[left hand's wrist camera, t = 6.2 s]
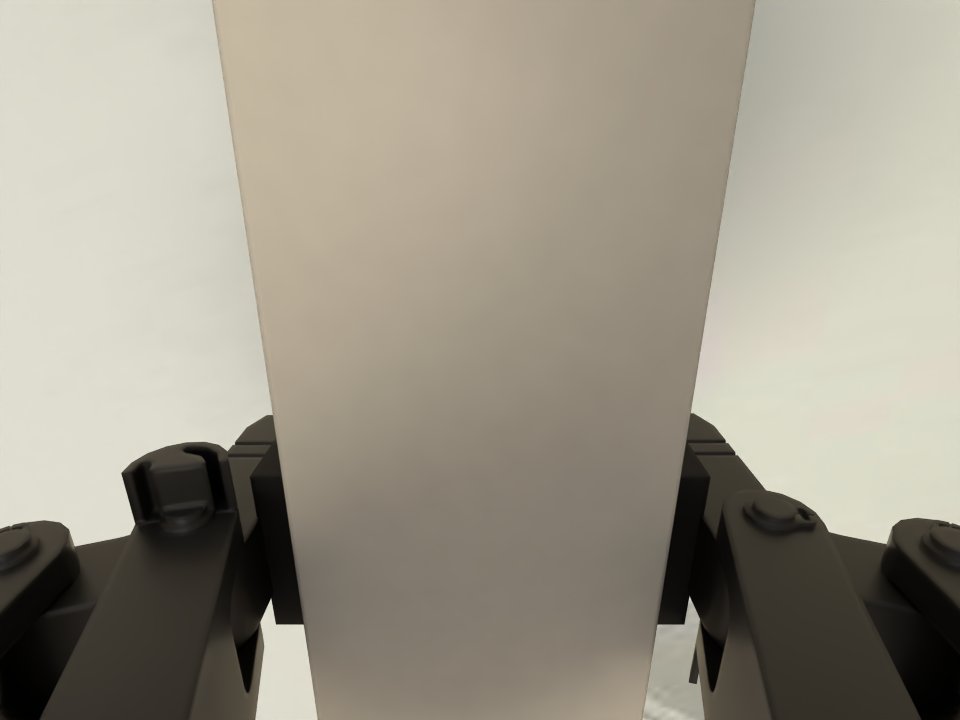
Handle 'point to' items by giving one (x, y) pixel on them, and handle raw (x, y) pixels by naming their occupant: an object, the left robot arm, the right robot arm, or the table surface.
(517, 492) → the beam
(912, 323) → the table surface
